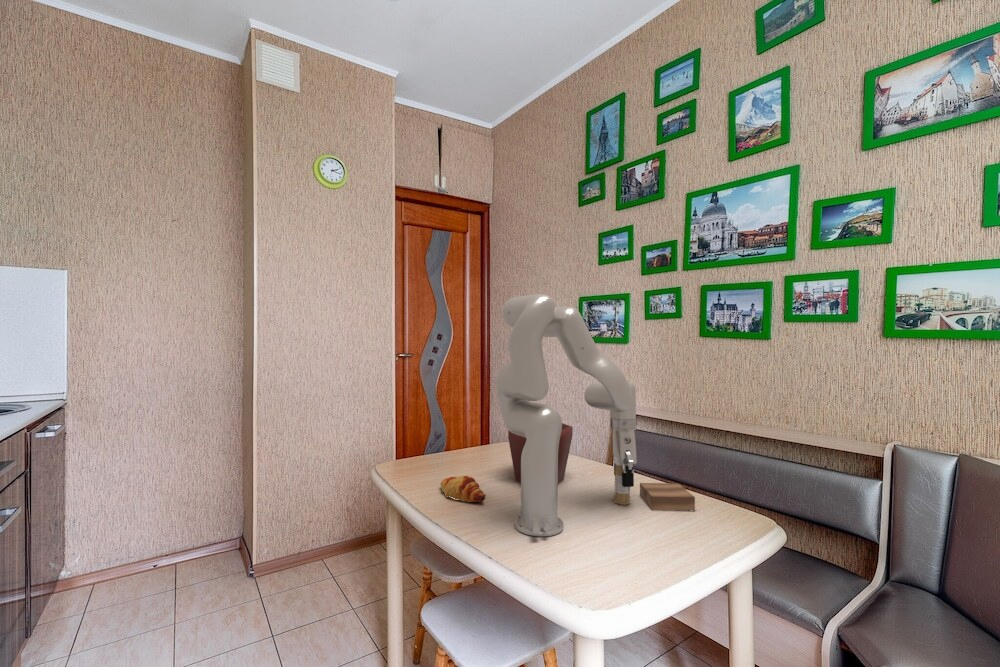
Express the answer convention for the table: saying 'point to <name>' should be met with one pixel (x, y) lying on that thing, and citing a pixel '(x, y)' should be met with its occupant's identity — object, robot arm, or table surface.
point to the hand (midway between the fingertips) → (623, 480)
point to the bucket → (563, 451)
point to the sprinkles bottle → (620, 485)
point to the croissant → (462, 488)
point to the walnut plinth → (666, 496)
